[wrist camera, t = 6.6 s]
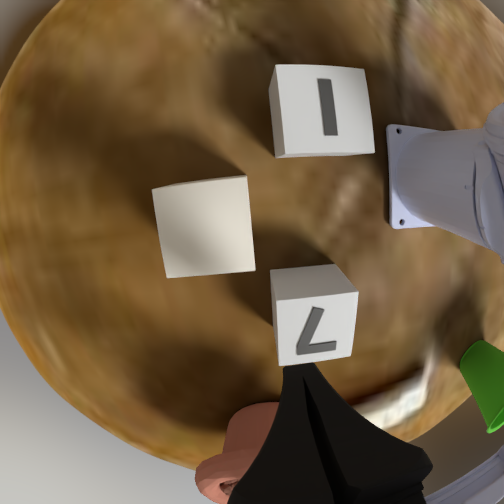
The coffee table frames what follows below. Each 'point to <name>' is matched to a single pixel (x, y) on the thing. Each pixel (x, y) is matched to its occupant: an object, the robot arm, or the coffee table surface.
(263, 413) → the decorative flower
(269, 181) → the coffee table surface
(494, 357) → the cup
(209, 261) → the cream block
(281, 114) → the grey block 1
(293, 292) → the white marked cube 7
